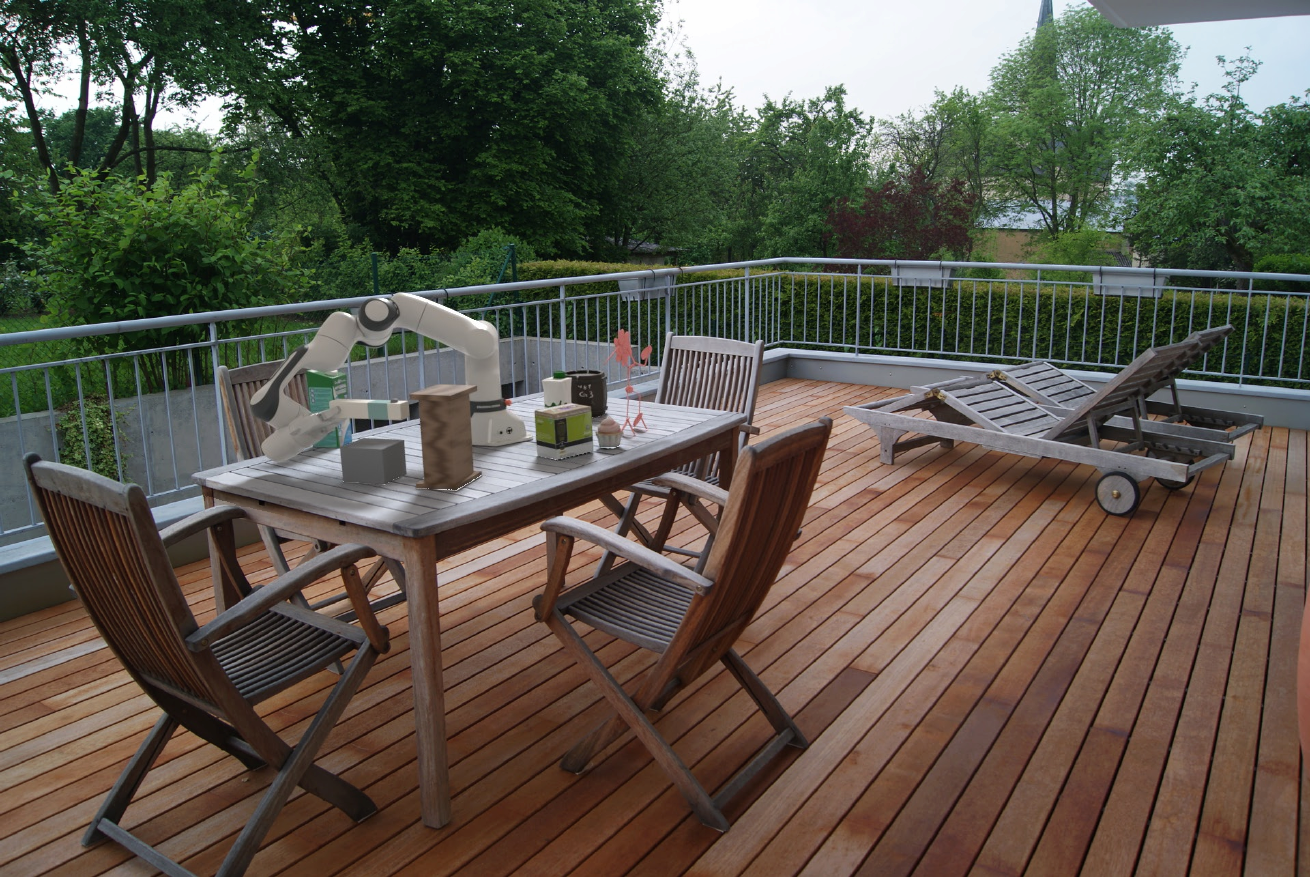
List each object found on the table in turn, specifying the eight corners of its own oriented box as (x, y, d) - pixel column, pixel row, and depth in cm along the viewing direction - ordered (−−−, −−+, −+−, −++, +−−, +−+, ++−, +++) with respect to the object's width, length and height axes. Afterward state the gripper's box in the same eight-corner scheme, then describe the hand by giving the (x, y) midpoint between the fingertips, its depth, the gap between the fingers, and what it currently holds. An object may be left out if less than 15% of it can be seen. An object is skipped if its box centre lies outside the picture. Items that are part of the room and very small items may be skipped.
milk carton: (338, 447, 305) (331, 371, 300) (312, 447, 307) (305, 370, 301) (352, 441, 314) (346, 366, 308) (327, 440, 316) (320, 366, 310)
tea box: (573, 447, 301) (571, 402, 298) (594, 452, 294) (592, 406, 291) (535, 456, 291) (533, 408, 288) (556, 461, 284) (554, 413, 281)
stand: (415, 488, 256) (409, 394, 250) (443, 474, 271) (437, 384, 266) (456, 491, 253) (450, 395, 247) (481, 476, 268) (476, 385, 263)
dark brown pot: (587, 407, 367) (586, 367, 363) (617, 414, 354) (616, 372, 350) (549, 414, 355) (548, 372, 351) (579, 421, 342) (578, 378, 338)
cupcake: (618, 442, 307) (618, 412, 305) (628, 448, 299) (627, 417, 296) (591, 445, 304) (590, 414, 302) (599, 451, 295) (598, 420, 293)
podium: (343, 482, 264) (339, 447, 262) (366, 471, 275) (363, 437, 273) (384, 484, 261) (382, 449, 258) (406, 473, 272) (404, 439, 270)
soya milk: (575, 428, 329) (573, 371, 325) (563, 433, 321) (561, 375, 317) (553, 426, 332) (551, 370, 328) (540, 432, 324) (538, 374, 320)
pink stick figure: (660, 425, 332) (656, 325, 324) (626, 441, 309) (621, 333, 302) (621, 423, 339) (617, 325, 331) (585, 438, 316) (580, 333, 308)
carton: (330, 417, 265) (328, 398, 263) (339, 414, 269) (338, 395, 268) (401, 420, 259) (399, 401, 258) (409, 417, 263) (408, 398, 262)
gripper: (280, 426, 260) (316, 403, 255) (324, 412, 279) (358, 390, 275) (292, 446, 260) (328, 423, 256) (335, 431, 280) (369, 409, 275)
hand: (344, 406), depth 265 cm, fingers closed on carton, 4 cm apart
